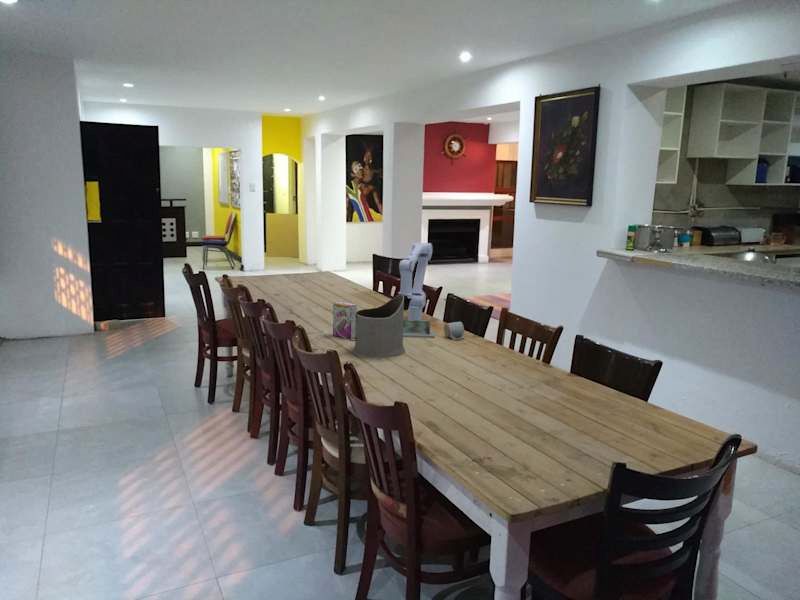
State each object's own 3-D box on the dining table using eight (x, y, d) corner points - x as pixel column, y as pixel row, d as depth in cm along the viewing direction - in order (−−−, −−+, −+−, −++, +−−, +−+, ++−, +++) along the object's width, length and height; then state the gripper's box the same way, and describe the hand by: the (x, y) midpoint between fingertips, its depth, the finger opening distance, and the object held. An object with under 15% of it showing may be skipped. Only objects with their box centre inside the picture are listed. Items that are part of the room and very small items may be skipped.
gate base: (393, 332, 306) (394, 319, 305) (433, 334, 306) (434, 320, 304) (393, 336, 298) (393, 322, 297) (434, 337, 298) (434, 323, 297)
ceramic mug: (442, 335, 303) (443, 320, 301) (458, 335, 305) (458, 320, 303) (451, 341, 293) (451, 326, 291) (466, 340, 295) (467, 325, 294)
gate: (401, 331, 303) (401, 320, 302) (401, 331, 304) (401, 319, 303) (429, 332, 302) (430, 321, 301) (429, 331, 304) (430, 320, 303)
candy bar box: (332, 336, 297) (332, 302, 294) (338, 334, 301) (338, 301, 298) (350, 339, 291) (351, 305, 288) (357, 337, 296) (357, 304, 292)
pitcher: (411, 356, 265) (413, 300, 260) (339, 361, 256) (339, 302, 252) (397, 343, 287) (398, 290, 282) (330, 346, 278) (330, 292, 273)
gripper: (394, 281, 314) (394, 307, 317) (402, 286, 300) (402, 313, 303) (407, 281, 316) (407, 307, 319) (416, 285, 302) (415, 312, 305)
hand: (405, 310), depth 311 cm, fingers closed
